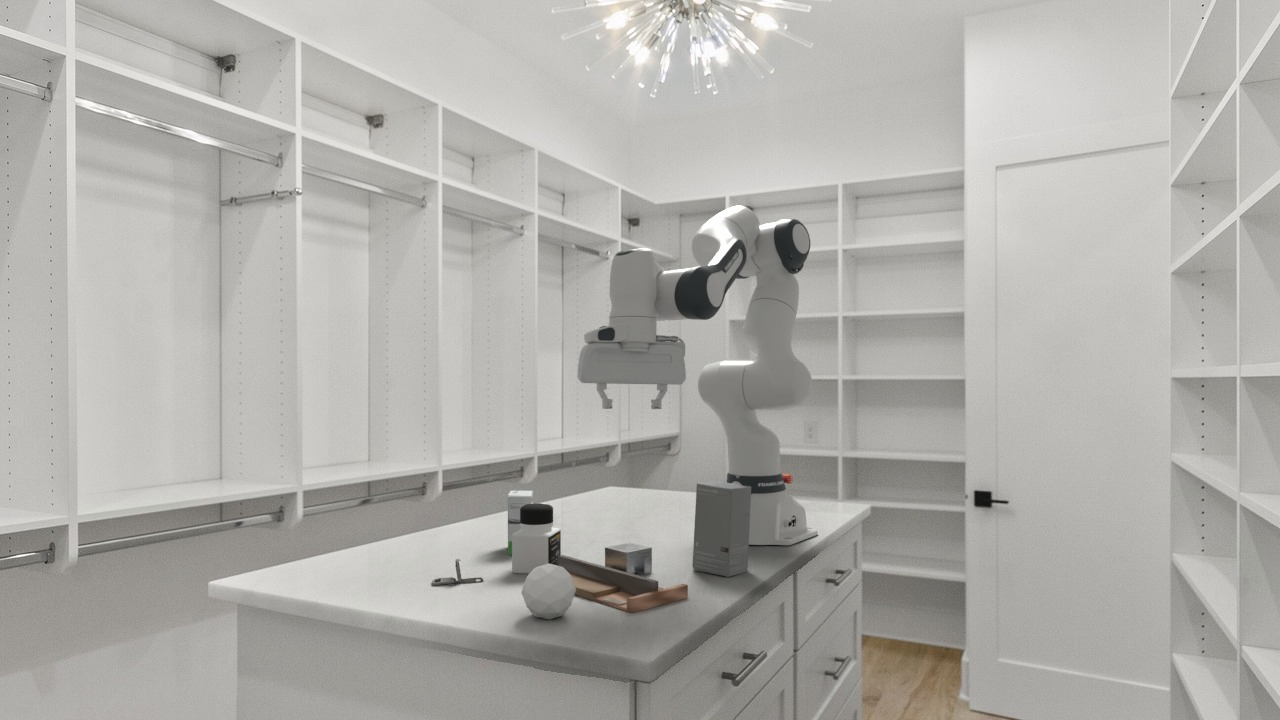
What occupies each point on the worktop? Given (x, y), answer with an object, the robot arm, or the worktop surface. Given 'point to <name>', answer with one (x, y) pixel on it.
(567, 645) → the worktop surface
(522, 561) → the medicine bottle
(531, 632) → the worktop surface
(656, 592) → the board
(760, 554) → the worktop surface
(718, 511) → the skincare box
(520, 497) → the ink box
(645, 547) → the grey square block
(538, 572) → the geometric ball
